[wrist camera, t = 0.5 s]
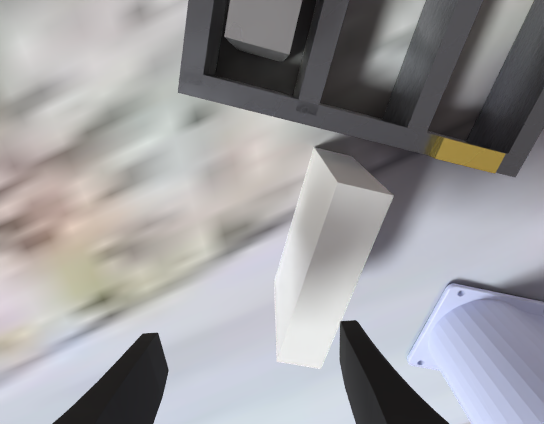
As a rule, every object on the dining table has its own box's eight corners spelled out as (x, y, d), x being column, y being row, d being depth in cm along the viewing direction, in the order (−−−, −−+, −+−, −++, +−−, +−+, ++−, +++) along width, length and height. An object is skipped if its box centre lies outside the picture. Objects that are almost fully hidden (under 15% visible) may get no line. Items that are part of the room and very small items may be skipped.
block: (351, 155, 19) (393, 195, 13) (305, 287, 23) (320, 369, 16) (313, 146, 19) (337, 182, 12) (274, 281, 23) (276, 361, 16)
